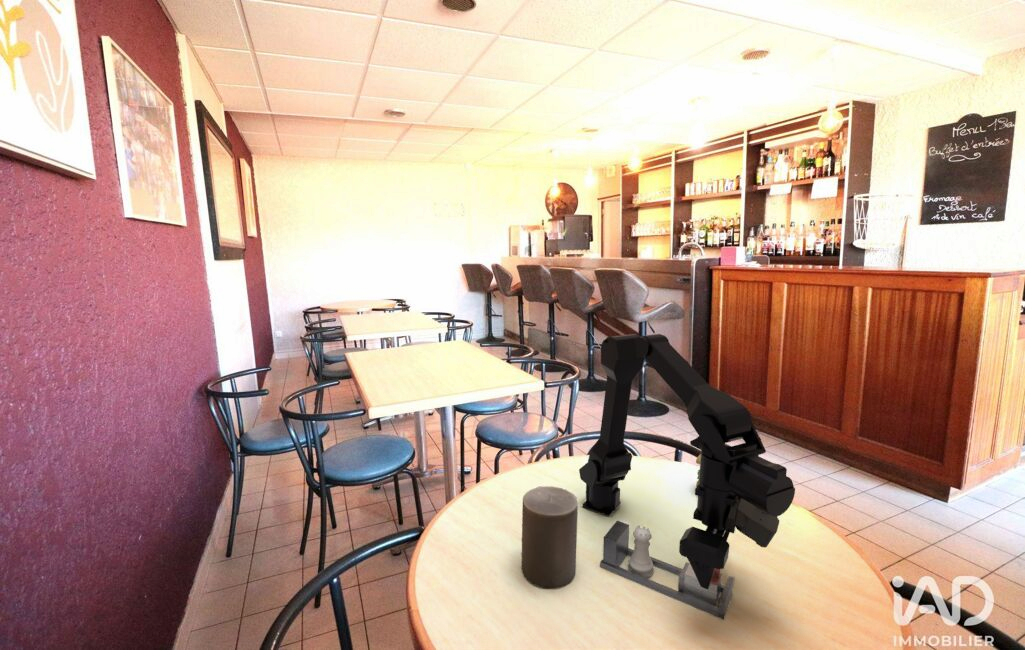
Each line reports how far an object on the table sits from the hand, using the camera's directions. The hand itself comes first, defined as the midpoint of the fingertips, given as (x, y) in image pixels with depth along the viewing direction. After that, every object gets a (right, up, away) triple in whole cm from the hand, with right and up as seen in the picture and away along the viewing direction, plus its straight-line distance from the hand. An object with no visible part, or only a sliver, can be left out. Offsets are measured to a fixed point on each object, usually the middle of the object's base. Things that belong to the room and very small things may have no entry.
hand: (711, 570), depth 76 cm
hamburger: (+13, 0, +31) cm, 34 cm away
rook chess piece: (-9, -4, +8) cm, 13 cm away
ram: (-1, -5, +2) cm, 5 cm away
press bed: (-6, -4, +5) cm, 9 cm away
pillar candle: (-26, -4, +8) cm, 27 cm away
